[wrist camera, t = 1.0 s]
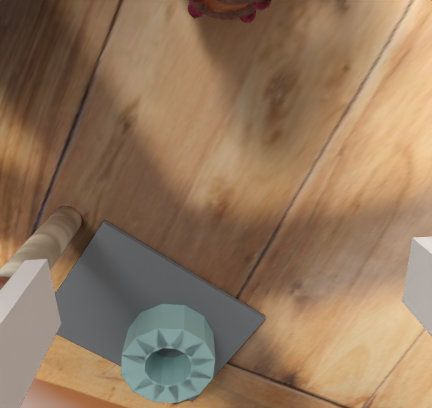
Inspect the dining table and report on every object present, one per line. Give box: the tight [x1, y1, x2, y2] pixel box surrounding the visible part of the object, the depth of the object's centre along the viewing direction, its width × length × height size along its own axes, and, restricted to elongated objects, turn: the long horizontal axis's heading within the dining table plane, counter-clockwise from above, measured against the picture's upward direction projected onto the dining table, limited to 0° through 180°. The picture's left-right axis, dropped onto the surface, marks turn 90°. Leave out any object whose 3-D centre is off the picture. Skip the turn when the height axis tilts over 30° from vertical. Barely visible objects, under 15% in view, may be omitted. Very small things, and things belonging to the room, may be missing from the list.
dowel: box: [0, 206, 82, 290], centre depth 31 cm, size 3×3×15 cm
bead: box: [121, 304, 215, 403], centre depth 41 cm, size 9×9×4 cm
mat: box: [55, 221, 265, 402], centre depth 42 cm, size 20×14×1 cm
